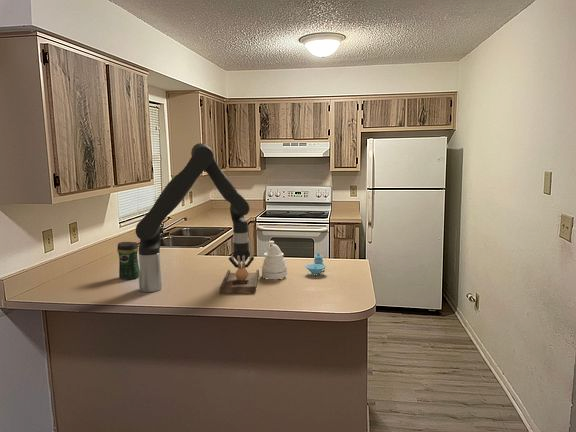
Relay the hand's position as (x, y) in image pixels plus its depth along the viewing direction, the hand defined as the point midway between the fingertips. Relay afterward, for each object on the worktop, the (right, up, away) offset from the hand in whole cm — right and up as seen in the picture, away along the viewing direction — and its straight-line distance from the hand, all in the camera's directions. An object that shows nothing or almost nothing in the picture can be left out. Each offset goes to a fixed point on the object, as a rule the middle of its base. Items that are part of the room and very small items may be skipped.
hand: (242, 275), depth 216 cm
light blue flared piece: (+38, -1, +14) cm, 40 cm away
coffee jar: (-58, -2, +8) cm, 59 cm away
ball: (0, +1, -4) cm, 5 cm away
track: (0, -3, -4) cm, 6 cm away
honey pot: (+16, -2, +8) cm, 18 cm away
